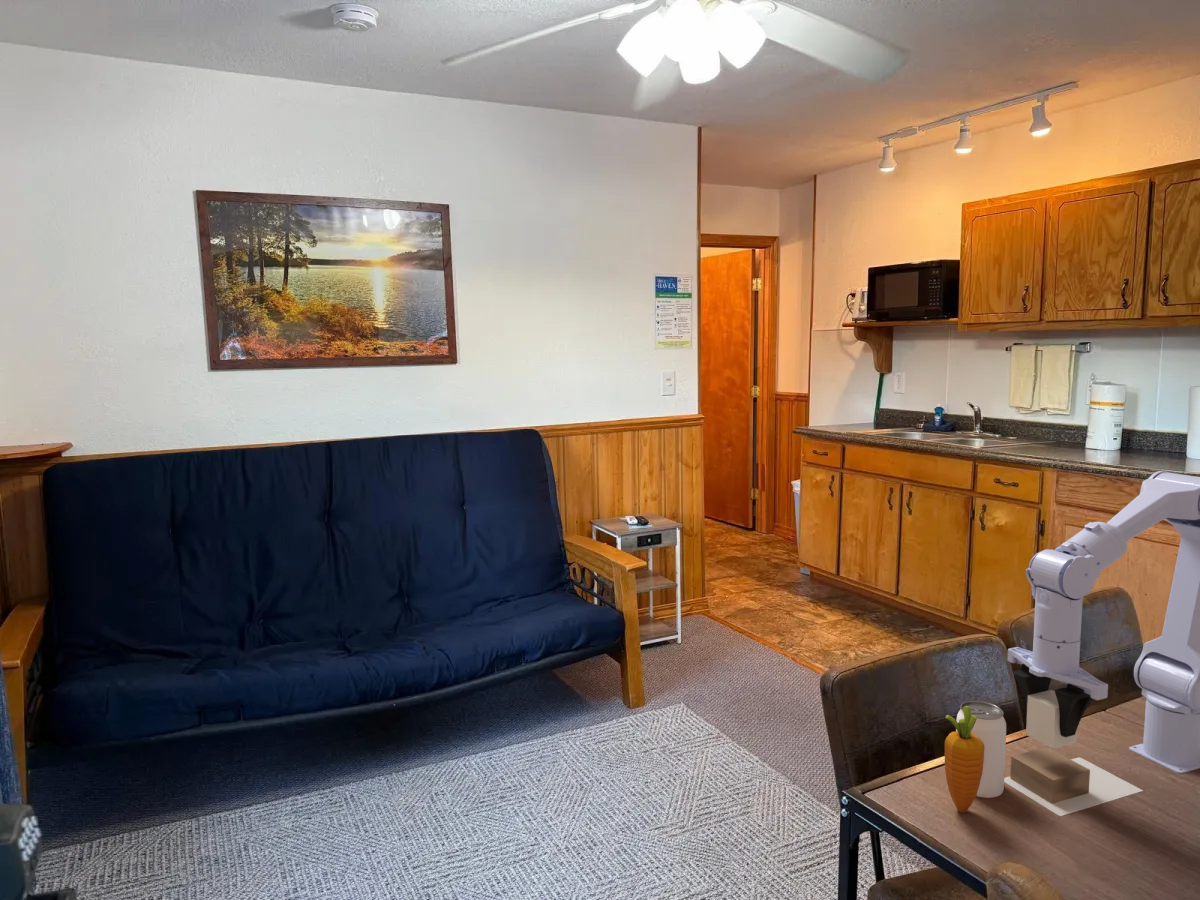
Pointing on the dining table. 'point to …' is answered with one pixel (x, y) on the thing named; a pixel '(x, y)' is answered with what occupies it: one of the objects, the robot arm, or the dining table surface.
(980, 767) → the carrot
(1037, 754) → the brown block
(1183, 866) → the dining table surface
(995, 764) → the can
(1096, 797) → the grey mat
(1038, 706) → the cream block
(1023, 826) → the dining table surface
